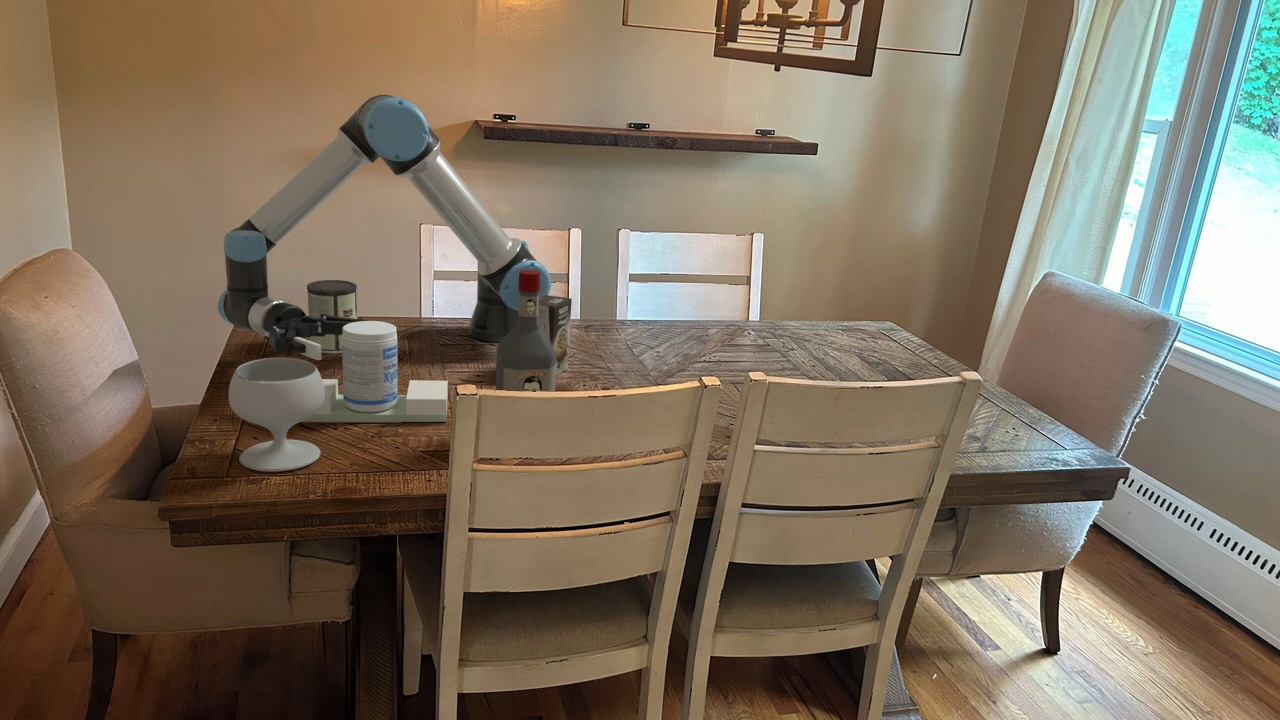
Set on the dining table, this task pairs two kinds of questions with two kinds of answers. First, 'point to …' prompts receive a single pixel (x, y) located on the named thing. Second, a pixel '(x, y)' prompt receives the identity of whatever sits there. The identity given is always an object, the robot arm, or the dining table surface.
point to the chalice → (277, 409)
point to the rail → (417, 406)
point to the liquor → (526, 345)
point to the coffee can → (331, 308)
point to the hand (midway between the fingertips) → (351, 345)
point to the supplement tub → (369, 366)
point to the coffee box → (556, 326)
